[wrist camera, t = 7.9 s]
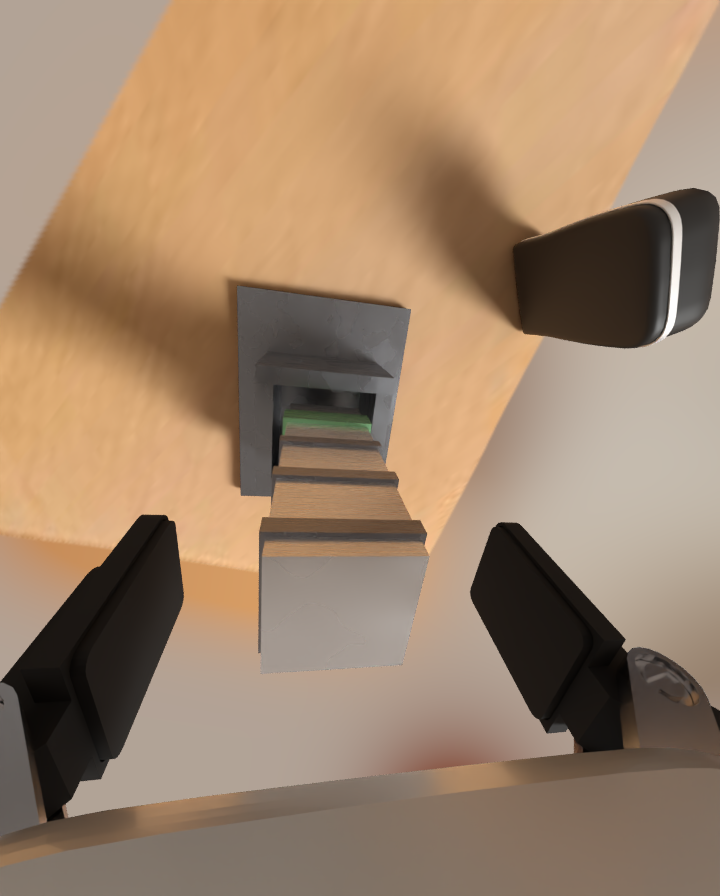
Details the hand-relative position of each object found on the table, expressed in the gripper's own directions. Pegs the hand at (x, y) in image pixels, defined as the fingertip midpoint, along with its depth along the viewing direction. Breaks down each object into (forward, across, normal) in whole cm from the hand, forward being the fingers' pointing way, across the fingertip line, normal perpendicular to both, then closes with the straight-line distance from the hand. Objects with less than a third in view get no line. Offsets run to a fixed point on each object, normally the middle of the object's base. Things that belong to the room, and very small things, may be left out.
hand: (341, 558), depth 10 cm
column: (+11, 0, +1) cm, 11 cm away
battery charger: (+19, -16, -10) cm, 27 cm away
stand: (+18, 0, +1) cm, 18 cm away
